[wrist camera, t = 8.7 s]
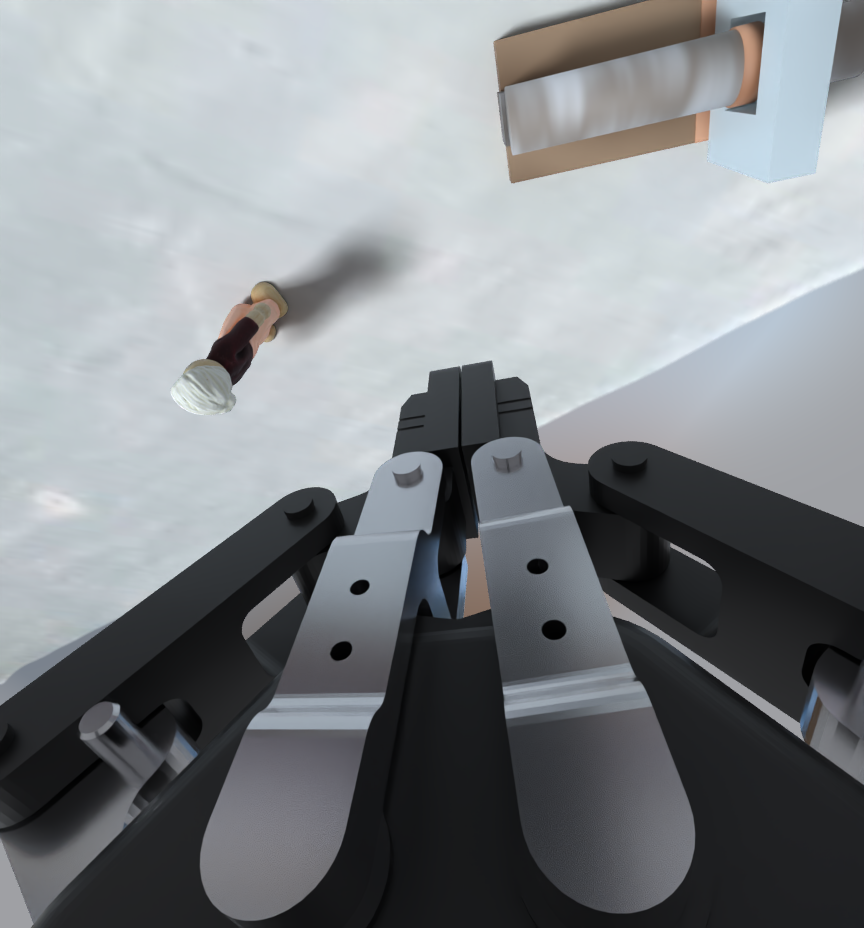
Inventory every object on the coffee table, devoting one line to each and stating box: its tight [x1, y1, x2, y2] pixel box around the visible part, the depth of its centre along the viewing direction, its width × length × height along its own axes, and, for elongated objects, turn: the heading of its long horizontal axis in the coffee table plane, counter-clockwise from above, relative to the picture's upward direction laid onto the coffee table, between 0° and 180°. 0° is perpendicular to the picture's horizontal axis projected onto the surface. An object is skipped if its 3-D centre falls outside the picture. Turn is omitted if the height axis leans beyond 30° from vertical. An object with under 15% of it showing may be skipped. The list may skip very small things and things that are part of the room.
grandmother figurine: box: [171, 282, 288, 415], centre depth 36 cm, size 8×4×13 cm, turn 156°
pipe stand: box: [494, 0, 864, 183], centre depth 29 cm, size 7×16×8 cm, turn 102°
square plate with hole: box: [707, 0, 843, 183], centre depth 26 cm, size 9×2×8 cm, turn 12°
